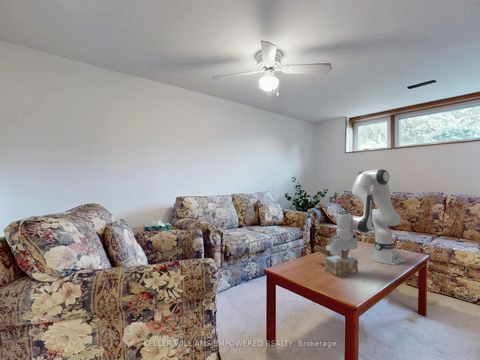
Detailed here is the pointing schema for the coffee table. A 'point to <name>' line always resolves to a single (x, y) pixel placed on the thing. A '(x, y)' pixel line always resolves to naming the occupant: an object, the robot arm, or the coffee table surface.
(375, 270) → the coffee table surface
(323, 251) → the bar
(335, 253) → the cup
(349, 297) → the coffee table surface
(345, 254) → the lid
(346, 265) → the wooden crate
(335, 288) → the coffee table surface
